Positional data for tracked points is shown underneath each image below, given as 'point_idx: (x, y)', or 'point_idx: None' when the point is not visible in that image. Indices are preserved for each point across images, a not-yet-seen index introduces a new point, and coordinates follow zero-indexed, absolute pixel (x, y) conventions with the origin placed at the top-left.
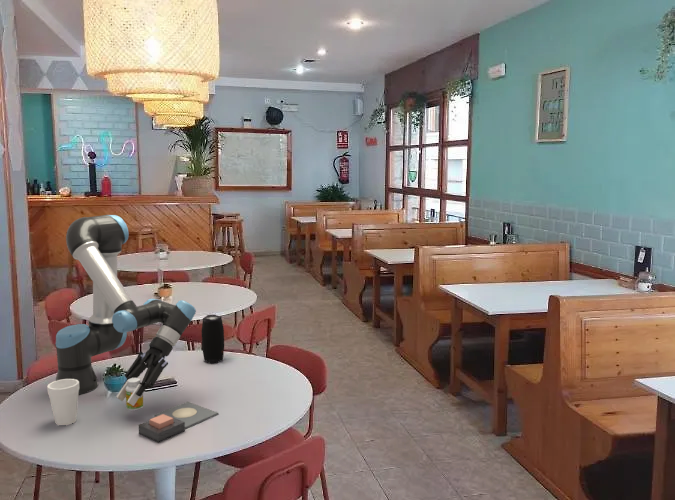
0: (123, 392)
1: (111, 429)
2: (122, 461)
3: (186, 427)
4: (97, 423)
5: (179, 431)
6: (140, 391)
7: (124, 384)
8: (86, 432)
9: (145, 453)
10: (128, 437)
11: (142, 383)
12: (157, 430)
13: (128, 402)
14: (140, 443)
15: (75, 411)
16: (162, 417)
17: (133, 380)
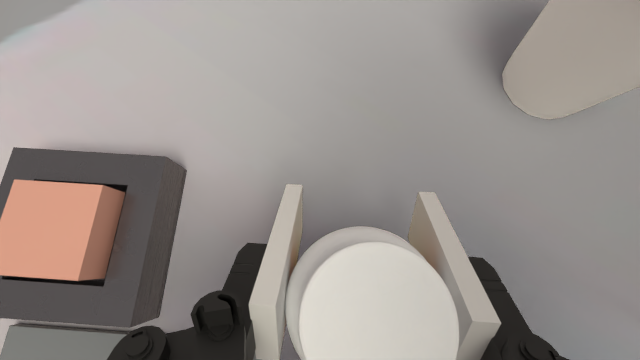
0: (427, 243)
1: (322, 136)
2: (85, 14)
3: (11, 332)
4: (423, 140)
5: None
6: (232, 273)
7: (499, 292)
8: (381, 71)
9: (48, 83)
10: (201, 128)
11: (197, 314)
12: (35, 165)
13: (287, 186)
14: (119, 121)
15: (537, 71)
16: (50, 244)
17: (362, 304)
